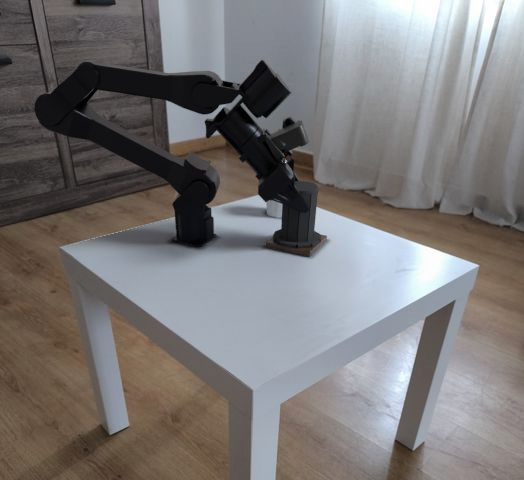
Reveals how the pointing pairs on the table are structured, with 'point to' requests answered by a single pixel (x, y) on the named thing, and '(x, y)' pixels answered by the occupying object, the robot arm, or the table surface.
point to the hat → (299, 220)
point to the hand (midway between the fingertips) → (306, 204)
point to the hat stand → (300, 251)
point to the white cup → (274, 209)
